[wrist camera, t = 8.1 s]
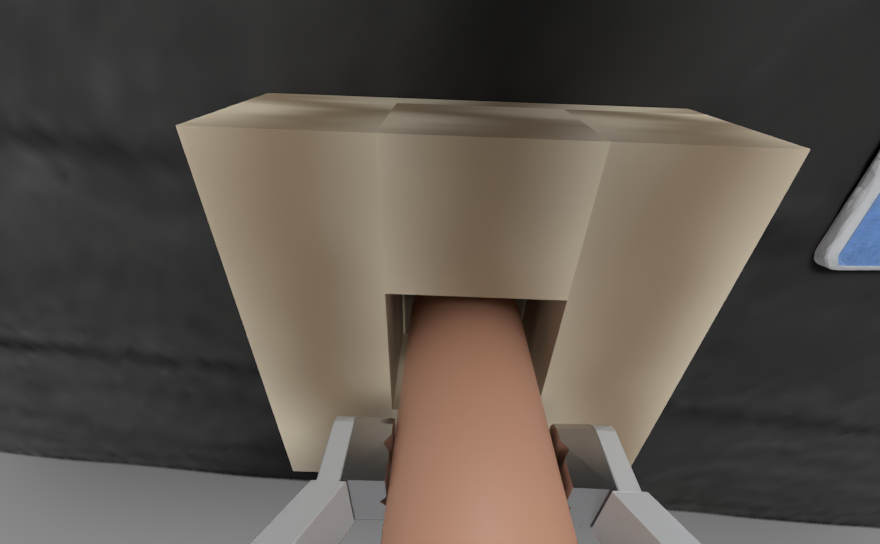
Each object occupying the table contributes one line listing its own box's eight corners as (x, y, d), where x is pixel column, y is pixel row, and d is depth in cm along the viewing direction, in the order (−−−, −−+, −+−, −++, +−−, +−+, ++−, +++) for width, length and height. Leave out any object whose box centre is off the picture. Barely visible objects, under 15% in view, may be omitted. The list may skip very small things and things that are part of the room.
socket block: (325, 378, 20) (292, 471, 16) (268, 93, 12) (175, 125, 8) (585, 388, 20) (621, 483, 16) (688, 108, 12) (810, 149, 8)
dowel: (412, 347, 15) (368, 733, 7) (411, 264, 13) (345, 683, 5) (509, 351, 15) (584, 742, 7) (525, 269, 13) (661, 694, 5)
